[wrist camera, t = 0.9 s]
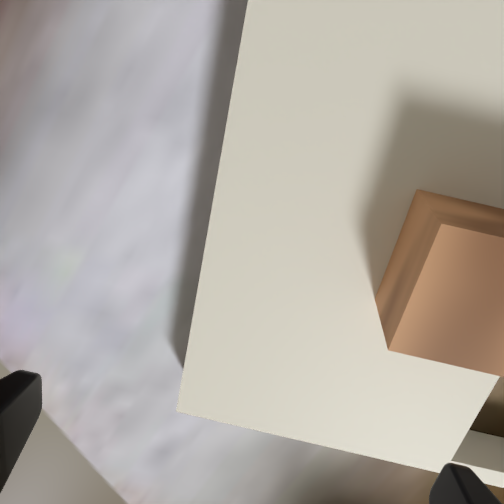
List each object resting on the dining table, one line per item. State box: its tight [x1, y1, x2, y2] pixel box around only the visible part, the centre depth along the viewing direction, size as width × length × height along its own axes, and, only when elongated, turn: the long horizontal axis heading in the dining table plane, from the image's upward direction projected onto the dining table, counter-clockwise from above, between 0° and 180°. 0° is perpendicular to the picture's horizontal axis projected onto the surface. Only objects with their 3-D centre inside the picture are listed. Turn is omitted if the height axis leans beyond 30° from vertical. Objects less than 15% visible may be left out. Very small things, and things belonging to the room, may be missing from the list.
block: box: [375, 189, 504, 377], centre depth 17 cm, size 5×5×4 cm
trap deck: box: [176, 0, 504, 488], centre depth 19 cm, size 22×23×4 cm
